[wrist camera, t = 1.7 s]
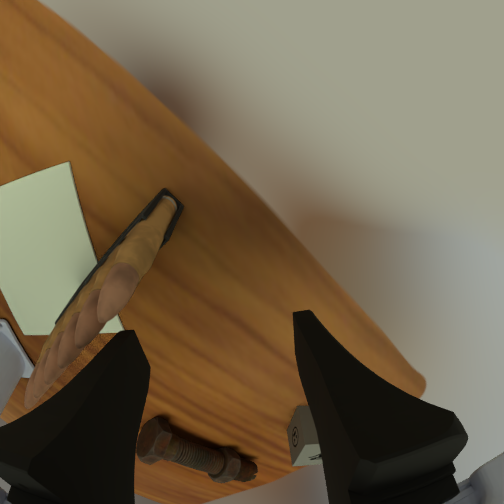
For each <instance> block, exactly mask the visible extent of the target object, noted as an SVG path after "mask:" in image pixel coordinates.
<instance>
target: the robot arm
mask: <svg viewBox="0 0 504 504" xmlns="http://www.w3.org/2000/svg"><path fill="white" fill-rule="evenodd" d="M293 326H294V343H295V355H296V361H297V366H298V371H299V376H300V379H301V383H302V386H303V389H304V392H305V395H306V398H307V402H308V405H309V408H310V411H311V414H312V417H313V420H314V424H315V428H316V431H317V436H318V441H319V446H320V451H321V457H322V462H323V468H324V474H325V480H326V486H327V492H328V499H329V504H504V452H503V453H502V454H500V455H498V456H497V457H495V458H494V459H492V460H490V461H489V462H487V463H485V464H484V465H482V466H481V467H479V468H478V469H477V470H476V471H474V472H473V473H472V474H471V476H470V477H469V478H468V479H466V480H464V481H462V482H460V483H458V484H457V483H456V481H455V478H454V476H453V474H454V473H455V471H456V469H455V467H454V464H453V460H454V459H455V458H456V457H457V456H458V454H459V453H460V452H461V451H462V449H463V448H464V447H465V445H466V443H467V440H468V435H467V433H466V431H465V429H464V427H463V425H462V424H461V422H460V421H459V419H458V418H457V417H456V415H455V414H454V412H452V411H449V410H446V409H443V408H441V407H438V406H435V405H432V404H430V403H427V402H425V401H423V400H420V399H418V398H416V397H414V396H412V395H410V394H408V393H406V392H404V391H402V390H401V389H399V388H397V387H395V386H394V385H392V384H390V383H388V382H387V381H385V380H384V379H382V378H381V377H379V376H378V375H377V374H375V373H374V372H372V371H371V370H370V369H368V368H367V367H366V366H365V365H363V364H362V363H361V362H360V361H358V360H357V359H356V358H355V357H354V356H353V355H352V354H350V353H349V352H348V351H347V350H346V349H345V348H344V347H343V346H342V345H341V344H340V343H339V342H338V341H337V340H336V339H335V338H334V337H333V336H332V335H331V334H330V333H329V332H328V330H327V329H326V328H325V327H324V326H323V325H322V323H321V322H320V321H319V320H318V319H317V317H316V316H315V315H314V313H313V312H312V311H310V310H304V311H298V312H293ZM34 368H35V367H34V366H33V364H32V362H31V361H30V359H29V358H28V356H27V355H26V353H25V351H24V350H23V348H22V346H21V345H20V343H19V341H18V340H17V338H16V336H15V334H14V333H13V331H12V329H11V327H10V325H9V324H8V322H7V321H6V320H4V319H0V415H1V413H2V411H3V409H4V408H5V406H6V404H7V402H8V400H9V398H10V396H11V394H12V392H13V391H14V389H15V387H16V385H17V383H18V382H19V380H20V378H21V377H24V378H30V376H31V374H32V372H33V370H34ZM150 368H151V367H150V365H149V363H148V360H147V358H146V356H145V354H144V352H143V349H142V347H141V345H140V343H139V340H138V338H137V336H136V333H135V331H134V330H122V331H119V332H118V333H117V334H116V335H115V336H114V337H113V338H112V339H111V340H110V341H109V342H108V343H107V344H106V345H105V346H104V348H103V349H102V350H101V351H100V352H99V353H98V354H97V355H96V356H95V357H94V358H93V359H92V360H91V361H90V362H89V363H88V364H87V365H86V366H85V367H84V368H83V369H82V370H81V371H80V372H79V373H78V374H77V375H76V376H75V377H74V378H73V379H72V380H71V381H70V382H69V383H68V384H67V385H66V386H64V387H63V388H62V389H61V390H60V391H59V392H57V393H56V394H55V395H54V396H52V397H51V398H50V399H48V400H47V401H45V402H44V403H43V404H41V405H40V406H38V407H37V408H35V409H34V410H32V411H31V412H29V413H27V414H26V415H24V416H22V417H20V418H19V419H17V420H15V421H13V422H11V423H9V424H6V425H4V426H2V427H0V477H1V478H2V479H3V480H5V481H6V482H7V483H8V484H10V485H11V488H10V491H9V494H8V493H6V492H5V491H4V490H3V489H2V488H1V487H0V504H135V499H134V468H135V453H136V443H137V437H138V432H139V427H140V423H141V419H142V414H143V410H144V406H145V402H146V397H147V393H148V388H149V379H150Z"/></svg>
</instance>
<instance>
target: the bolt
mask: <svg viewBox="0 0 504 504" xmlns="http://www.w3.org/2000/svg"><path fill="white" fill-rule="evenodd" d="M136 453H137V456H138V458H139V459H140V461H141V462H144V463H146V464H149V465H151V464H153V463H155V462H157V461H159V460H161V459H164V460H167V461H172V462H176V463H178V464H181V465H183V466H186V467H189V468H193V469H196V470H201V471H204V472H207V473H208V475H209V476H210V478H211V479H212V480H213V481H214V482H218V483H225V482H229V481H231V480H233V479H234V480H238V481H242V482H246V481H251V480H252V479H254V478H255V477H256V475H253V474H255V473H257V472H258V470H257V465H256V464H255V463H254V462H252V461H249V460H245V459H241V458H240V457H239V455H238V454H237V453H236V452H235V451H234V450H233V449H230V448H227V447H223V448H219V449H217V450H213V449H210V448H207V447H204V446H202V445H199V444H196V443H193V442H191V441H188V440H186V439H183V438H180V437H178V436H177V435H175V434H173V433H172V432H171V430H170V427H169V424H168V421H166V420H164V419H162V418H159V417H156V418H152V419H151V420H149V421H148V422H147V423H146V424H145V425H144V427H143V428H142V430H141V432H140V434H139V437H138V441H137V448H136Z"/></svg>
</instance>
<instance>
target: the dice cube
mask: <svg viewBox="0 0 504 504" xmlns="http://www.w3.org/2000/svg"><path fill="white" fill-rule="evenodd" d="M287 434H288V441H289V447H290V453H291V460H292V466H303V465H316V464H323V462H322V457H321V451H320V446H319V441H318V436H317V431H316V428H315V424H314V420H313V417H312V414H311V411H310V408H309V406H297V408H296V411H295V413H294V415H293V418H292V420H291V422H290V424H289V427H288V429H287Z"/></svg>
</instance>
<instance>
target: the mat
mask: <svg viewBox="0 0 504 504" xmlns="http://www.w3.org/2000/svg"><path fill="white" fill-rule="evenodd" d="M97 263H98V260H97V257H96V254H95V251H94V248H93V245H92V242H91V239H90V236H89V232H88V229H87V226H86V223H85V219H84V216H83V212H82V208H81V205H80V201H79V197H78V194H77V190H76V186H75V182H74V177H73V173H72V169H71V164H70V161H69V162H65V163H62V164H59V165H56V166H53V167H50V168H47V169H45V170H42V171H39V172H36V173H33V174H31V175H28V176H25V177H23V178H20V179H17V180H15V181H12V182H10V183H7V184H5V185H2V186H0V288H1V291H2V293H3V295H4V297H5V299H6V301H7V303H8V305H9V307H10V309H11V311H12V313H13V315H14V317H15V319H16V321H17V323H18V325H19V326H20V328H21V330H22V332H23V334H24V335H50V333H51V332H52V330H53V328H54V327H55V321H56V320H57V318H58V317H59V315H60V314H61V312H62V311H63V309H64V308H65V306H66V305H67V303H68V302H69V300H70V299H71V297H72V296H73V295H74V293H75V292H76V290H77V289H78V287H79V286H80V285H81V283H82V282H83V281H84V279H85V278H86V277H87V276H88V274H89V273H90V272H91V271H92V269H93V268H94V267H95V266H96V264H97ZM122 330H124V327H123V325H122V323H121V320H120V318H119V316H118V314H117V315H116V316H115V317H114V318H113V319H111V320H110V321H108V322H107V323H106V324H105V326H104V327H103V329H102V330H101V331H100V333H115V332H119V331H122Z"/></svg>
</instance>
